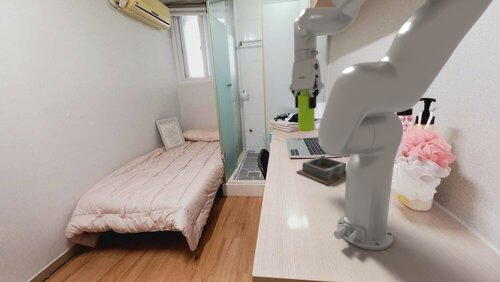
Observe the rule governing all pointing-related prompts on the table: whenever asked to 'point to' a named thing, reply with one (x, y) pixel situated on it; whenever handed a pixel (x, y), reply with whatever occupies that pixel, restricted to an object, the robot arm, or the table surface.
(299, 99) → the soap dispenser
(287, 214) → the table surface
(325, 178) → the box
